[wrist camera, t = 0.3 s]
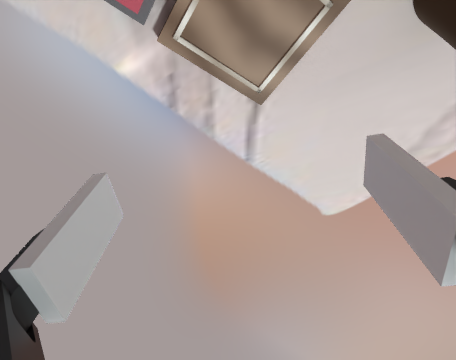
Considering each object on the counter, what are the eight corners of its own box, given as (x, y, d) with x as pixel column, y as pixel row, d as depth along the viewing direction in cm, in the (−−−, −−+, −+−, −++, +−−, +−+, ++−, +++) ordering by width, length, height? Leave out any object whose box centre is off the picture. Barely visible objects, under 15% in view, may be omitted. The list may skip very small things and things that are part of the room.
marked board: (233, -115, 27) (234, -115, 26) (348, -3, 34) (351, 0, 33) (158, 37, 36) (156, 41, 35) (260, 101, 43) (261, 106, 42)
